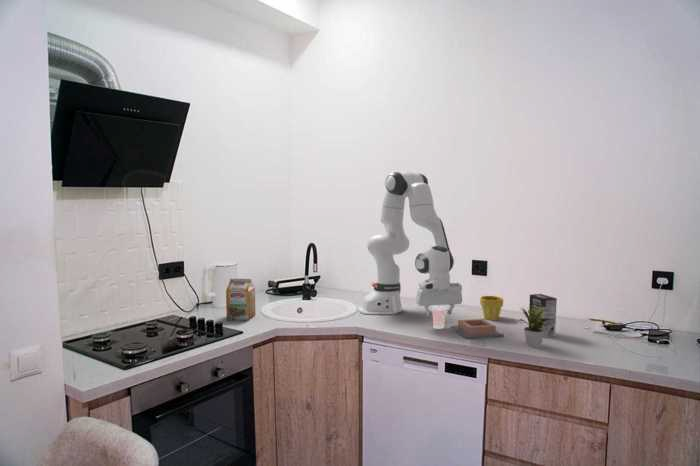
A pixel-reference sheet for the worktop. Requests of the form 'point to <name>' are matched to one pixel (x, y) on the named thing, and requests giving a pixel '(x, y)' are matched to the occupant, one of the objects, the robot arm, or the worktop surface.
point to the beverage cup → (438, 316)
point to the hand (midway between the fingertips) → (439, 314)
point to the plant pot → (491, 306)
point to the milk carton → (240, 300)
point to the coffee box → (545, 311)
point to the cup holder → (476, 329)
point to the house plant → (534, 327)
